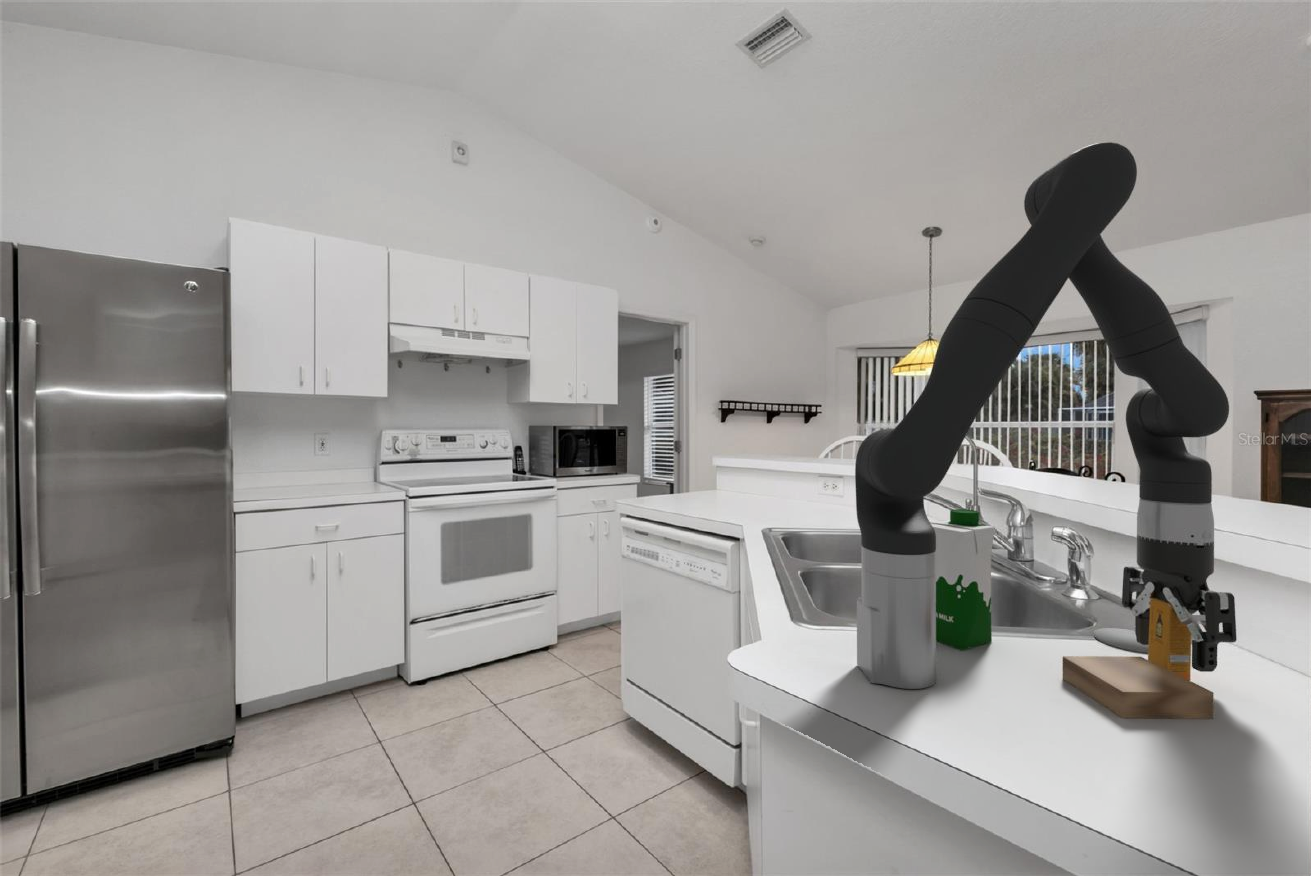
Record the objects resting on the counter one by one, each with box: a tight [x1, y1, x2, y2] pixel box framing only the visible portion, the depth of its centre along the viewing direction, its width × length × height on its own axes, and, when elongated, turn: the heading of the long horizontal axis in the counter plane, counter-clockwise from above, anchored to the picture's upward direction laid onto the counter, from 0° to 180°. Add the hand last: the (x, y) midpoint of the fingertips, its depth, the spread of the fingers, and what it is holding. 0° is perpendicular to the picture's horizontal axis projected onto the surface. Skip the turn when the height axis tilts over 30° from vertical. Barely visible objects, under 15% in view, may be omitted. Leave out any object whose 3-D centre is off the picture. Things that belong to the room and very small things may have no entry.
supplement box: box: [1147, 598, 1192, 681], centre depth 75 cm, size 3×4×10 cm
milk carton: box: [929, 508, 996, 651], centre depth 88 cm, size 9×9×20 cm
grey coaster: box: [1093, 627, 1149, 654], centre depth 87 cm, size 9×9×1 cm
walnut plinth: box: [1062, 655, 1214, 720], centre depth 69 cm, size 10×10×3 cm
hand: (1173, 656), depth 75 cm, fingers open, 8 cm apart
